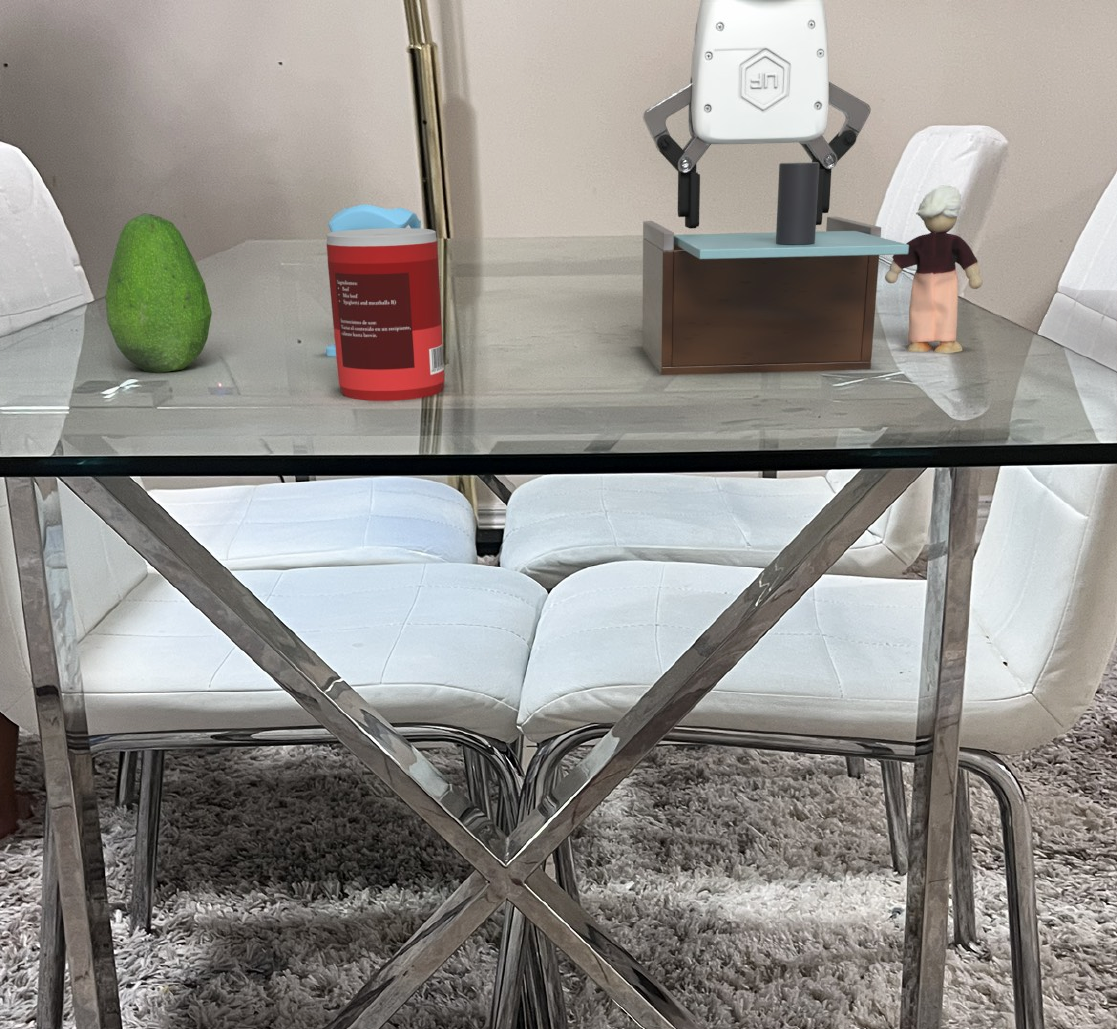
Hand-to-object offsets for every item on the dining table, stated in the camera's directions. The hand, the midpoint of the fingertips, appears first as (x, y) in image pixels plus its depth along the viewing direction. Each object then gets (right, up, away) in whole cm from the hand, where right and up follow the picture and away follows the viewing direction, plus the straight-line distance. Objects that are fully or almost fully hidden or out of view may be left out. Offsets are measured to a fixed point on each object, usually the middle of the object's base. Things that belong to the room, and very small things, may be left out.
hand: (752, 225), depth 105 cm
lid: (0, -6, -11) cm, 13 cm away
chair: (-30, -7, +11) cm, 33 cm away
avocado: (-47, -11, +3) cm, 48 cm away
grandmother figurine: (+15, -9, +5) cm, 18 cm away
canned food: (-27, -16, -8) cm, 32 cm away
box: (0, -10, +3) cm, 10 cm away
